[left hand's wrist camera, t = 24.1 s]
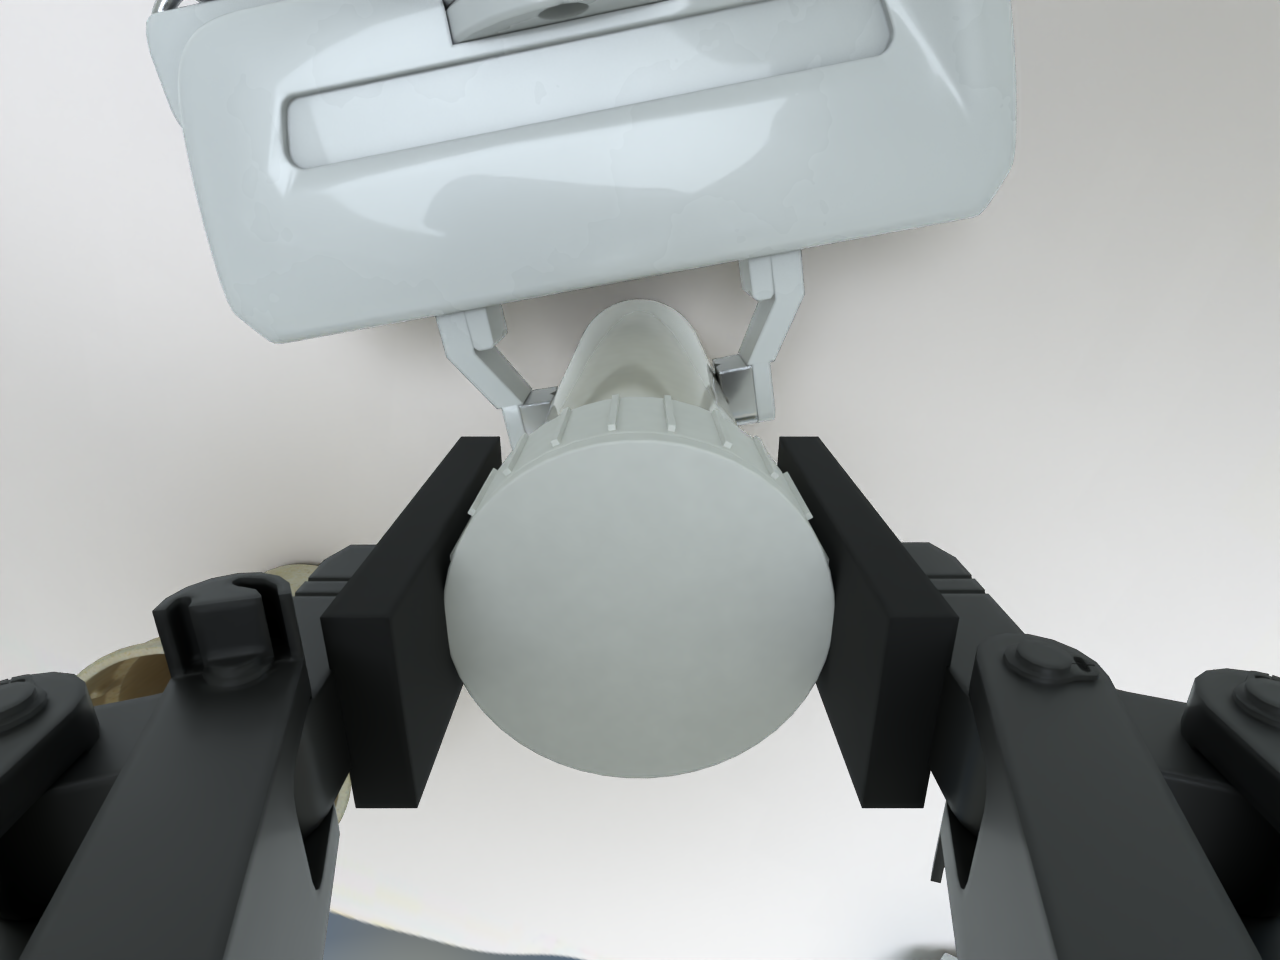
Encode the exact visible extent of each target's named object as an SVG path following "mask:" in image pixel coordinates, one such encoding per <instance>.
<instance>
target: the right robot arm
mask: <svg viewBox="0 0 1280 960" xmlns="http://www.w3.org/2000/svg"><path fill="white" fill-rule="evenodd" d="M182 1H183V0H156V1H155V4H154V6H153V10H152V15H151V16H150V17H149V18H148V20H147V22H146V35H147V42H148V47H149V51H150V54H151V57H152V60H153V63H154V65H155V68H156V71H157V73H158V76H159V79H160V82H161V84H162V87H163V90H164V92H165V95H166V98H167V101H168V103H169V106H170V108H171V111H172V113H173V115H174V117H175V118H176V120H177V121H178V123H179V125H180V126H181V127H182V130H183V135H184V140H185V145H186V150H187V155H188V160H189V165H190V170H191V175H192V179H193V184H194V188H195V193H196V197H197V201H198V205H199V209H200V213H201V217H202V221H203V225H204V228H205V232H206V236H207V239H208V243H209V246H210V250H211V253H212V257H213V260H214V263H215V267H216V270H217V273H218V276H219V279H220V283H221V286H222V288H223V291H224V294H225V296H226V299H227V301H228V303H229V305H230V307H231V309H232V311H233V312H234V313H235V315H236V316H238V317H239V318H240V319H241V320H242V321H244V322H245V323H246V324H247V325H249V326H250V327H251V328H252V329H254V330H255V331H256V332H257V333H259V334H260V335H262V336H263V337H264V338H266V339H267V340H268V341H270V342H272V343H276V344H283V343H289V342H295V341H301V340H306V339H311V338H317V337H322V336H328V335H333V334H339V333H344V332H350V331H355V330H361V329H366V328H372V327H377V326H383V325H388V324H394V323H399V322H404V321H410V320H415V319H421V318H426V317H432V316H435V317H436V321H437V324H438V328H439V331H440V335H441V339H442V342H443V346H444V350H445V353H446V357H447V358H448V359H449V360H450V361H451V362H452V363H453V364H454V366H455V367H456V368H457V369H458V370H459V371H460V372H461V373H462V374H463V375H464V376H465V377H466V378H467V379H468V380H469V381H470V382H471V383H472V384H473V385H474V386H475V387H476V388H477V389H478V390H479V391H480V392H481V393H482V394H483V395H484V396H485V397H486V398H487V399H488V400H489V401H490V402H491V403H492V404H493V405H494V406H495V407H496V408H497V409H502V412H503V416H504V420H505V424H506V428H507V432H508V436H509V440H510V443H511V447H512V451H513V450H514V449H515V447H516V445H517V443H518V441H519V439H520V437H521V436H522V435H523V434H524V433H527V434H528V435H530V434H531V433H533V432H534V431H535V430H537V429H538V428H539V427H541V425H542V423H543V420H544V418H545V416H546V414H547V412H548V409H549V407H550V405H551V403H552V401H553V399H554V396H555V394H556V392H557V390H558V386H556V387H550V388H543V389H537V390H532V388H531V387H530V386H529V385H528V384H527V382H526V381H525V380H524V379H523V378H522V377H521V375H520V374H519V373H518V372H517V371H516V370H515V369H514V367H513V366H512V365H511V364H510V363H509V362H508V361H507V359H506V358H505V357H504V356H503V355H502V354H501V352H500V351H499V350H498V349H497V348H496V347H495V345H496V344H497V343H498V342H499V341H500V340H501V339H502V338H503V337H504V336H505V335H506V333H507V332H508V331H507V327H506V323H505V318H504V314H503V310H502V305H501V304H503V303H508V302H514V301H519V300H525V299H530V298H536V297H541V296H547V295H552V294H558V293H563V292H569V291H574V290H580V289H585V288H590V287H596V286H601V285H607V284H612V283H618V282H623V281H629V280H634V279H640V278H645V277H651V276H656V275H662V274H667V273H673V272H678V271H683V270H689V269H694V268H700V267H705V266H711V265H716V264H722V263H727V262H733V261H739V268H740V276H741V283H742V289H743V290H744V291H745V292H746V293H747V294H749V295H750V296H751V297H752V298H754V299H755V300H757V301H759V302H758V304H757V307H756V309H755V312H754V314H753V317H752V319H751V322H750V324H749V327H748V329H747V332H746V334H745V337H744V340H743V342H742V345H741V347H740V350H739V352H738V353H739V354H737V355H732V356H727V357H722V358H717V359H712V361H713V368H714V374H715V376H716V378H717V381H718V383H719V385H720V387H721V389H722V392H723V394H724V396H725V398H726V400H727V403H728V405H729V407H730V409H731V412H732V414H733V416H734V418H735V420H736V423H737V425H738V426H739V425H746V424H752V423H757V422H764V421H770V420H774V419H775V404H774V395H773V386H772V377H771V368H770V362H772V361H775V359H776V356H777V354H778V352H779V350H780V348H781V345H782V343H783V341H784V339H785V337H786V334H787V332H788V330H789V328H790V325H791V323H792V321H793V319H794V317H795V314H796V312H797V310H798V308H799V306H800V303H801V301H802V299H803V297H804V295H805V291H804V279H803V267H802V255H801V249H804V248H809V247H815V246H820V245H826V244H831V243H837V242H842V241H848V240H853V239H859V238H864V237H869V236H875V235H880V234H886V233H891V232H897V231H902V230H908V229H913V228H919V227H924V226H930V225H935V224H941V223H946V222H951V221H957V220H962V219H967V218H973V217H975V216H977V215H979V214H981V213H982V212H983V211H984V210H985V208H986V207H987V206H988V204H989V203H990V202H991V200H992V199H993V197H994V196H995V194H996V192H997V191H998V189H999V188H1000V186H1001V184H1002V183H1003V181H1004V180H1005V178H1006V176H1007V175H1008V173H1009V172H1010V169H1011V167H1012V164H1013V160H1014V154H1015V146H1016V68H1015V47H1014V33H1013V20H1012V8H1011V0H196V1H198V2H199V3H198V4H194V5H189V6H184V7H180V8H177V7H178V6H179V4H180V3H181V2H182Z"/></svg>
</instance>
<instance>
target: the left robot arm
mask: <svg viewBox="0 0 1280 960" xmlns="http://www.w3.org/2000/svg"><path fill="white" fill-rule="evenodd" d="M501 465H502V460H501V446H500V437H461V438H460V439H459V440H458V441H457V443H456V444H455V445H454V447H453V448H452V449H451V450H450V452H449V453H448V454H447V455H446V457H445V458H444V459H443V461H442V462H441V463H440V464H439V466H438V467H437V468H436V470H435V471H434V472H433V473H432V475H431V476H430V477H429V478H428V480H427V481H426V482H425V484H424V485H423V486H422V487H421V489H420V490H419V491H418V493H417V494H416V495H415V496H414V498H413V499H412V500H411V501H410V503H409V504H408V505H407V507H406V508H405V509H404V510H403V512H402V513H401V514H400V516H399V517H398V518H397V519H396V521H395V522H394V523H393V524H392V526H391V527H390V528H389V530H388V531H387V532H386V533H385V535H384V536H383V537H382V539H381V540H380V541H379V542H378V544H377V545H350V546H348V547H346V548H344V549H343V550H341V551H339V552H337V553H336V554H334V555H332V556H330V557H329V558H327V559H325V560H324V561H323V562H322V563H321V564H320V565H319V566H318V567H317V569H316V570H315V571H314V572H313V573H312V574H311V575H310V576H309V577H308V581H305V582H304V583H303V584H302V585H301V586H300V587H299V589H298V590H297V591H296V592H295V596H292V592H291V587H290V583H289V582H288V581H286V580H285V579H283V578H282V577H280V576H278V575H273V574H267V573H262V572H258V573H237V574H231V575H226V576H221V577H216V578H211V579H209V580H206V581H203V582H200V583H197V584H194V585H191V586H188V587H186V588H184V589H182V590H180V591H179V592H177V593H175V594H173V595H171V596H169V597H168V598H166V599H165V600H164V601H162V602H161V603H160V604H159V605H158V606H157V607H156V608H155V609H154V610H153V611H152V613H153V616H154V619H155V623H156V626H157V630H158V633H159V637H160V640H161V644H162V647H163V651H164V654H165V658H166V661H167V665H168V668H169V672H170V675H171V679H170V681H169V683H168V684H167V686H166V688H165V690H164V692H163V693H159V694H155V695H150V696H145V697H140V698H135V699H129V700H124V701H119V702H114V703H108V704H103V705H98V706H93V704H92V701H91V698H90V695H89V692H88V689H87V686H86V683H85V681H83V680H82V679H80V678H79V677H77V676H76V675H75V674H68V673H59V672H48V673H40V674H32V675H30V674H27V675H21V676H17V677H12V679H11V680H8V679H5V680H2V681H0V960H323V954H324V946H325V939H326V932H327V924H328V917H329V910H330V902H331V895H332V887H333V880H334V873H335V865H336V858H337V851H338V843H339V836H340V832H339V825H338V818H337V813H336V808H335V803H334V801H335V799H336V797H337V795H338V793H339V791H340V790H341V788H342V786H343V784H344V782H345V780H346V778H347V776H348V774H349V775H350V780H351V785H352V791H353V796H354V801H355V806H356V808H417V807H418V805H419V802H420V799H421V797H422V794H423V791H424V788H425V786H426V783H427V780H428V778H429V775H430V772H431V770H432V767H433V764H434V761H435V759H436V756H437V753H438V751H439V748H440V745H441V743H442V740H443V737H444V735H445V732H446V729H447V726H448V724H449V721H450V718H451V716H452V713H453V710H454V708H455V705H456V702H457V699H458V697H459V694H460V691H461V689H462V686H463V682H462V680H461V679H460V677H459V674H458V672H457V670H456V667H455V665H454V663H453V660H452V658H451V655H450V648H449V641H448V632H447V624H446V615H445V605H444V587H445V582H446V577H447V572H448V568H449V565H450V562H451V561H450V554H451V552H452V550H453V548H454V547H455V545H456V543H457V541H458V539H459V538H460V536H461V534H462V532H463V530H464V528H465V527H466V525H467V523H468V521H469V519H470V518H471V515H469V514H468V511H469V510H470V508H471V506H472V504H473V502H474V501H475V499H476V497H477V495H478V494H479V492H480V490H481V488H482V487H483V485H484V483H485V481H486V480H487V478H488V476H489V474H490V473H491V471H492V469H493V468H495V469H496V470H498V469H499V468H500V466H501ZM777 466H778V467H779V469H780V470H781V472H782V474H783V473H785V472H788V474H789V475H790V477H791V479H792V481H793V482H794V484H795V486H796V488H797V490H798V491H799V493H800V495H801V497H802V498H803V500H804V502H805V504H806V506H807V507H808V509H809V511H810V513H811V514H812V516H813V518H811V519H809V520H808V521H809V523H810V525H811V526H812V528H813V530H814V532H815V534H816V536H817V538H818V539H819V541H820V543H821V545H822V547H823V549H824V551H825V552H826V554H827V556H828V558H829V568H830V571H831V577H832V582H833V588H834V594H835V606H834V617H833V625H832V634H831V642H830V648H829V651H828V655H827V658H826V661H825V663H824V666H823V668H822V670H821V672H820V675H819V677H818V679H817V681H816V685H817V688H818V690H819V693H820V696H821V699H822V701H823V704H824V707H825V709H826V712H827V715H828V717H829V720H830V723H831V726H832V728H833V731H834V734H835V736H836V739H837V742H838V744H839V747H840V750H841V753H842V755H843V758H844V761H845V763H846V766H847V769H848V771H849V774H850V777H851V780H852V782H853V785H854V788H855V790H856V793H857V796H858V798H859V801H860V804H861V807H862V808H924V803H925V797H926V792H927V787H928V781H929V776H930V771H931V772H932V774H933V776H934V778H935V779H936V781H937V783H938V785H939V787H940V789H941V791H942V793H943V795H944V797H945V799H946V803H945V808H944V813H943V818H942V823H941V828H940V833H939V838H938V843H937V848H936V853H935V857H934V862H933V868H932V875H931V881H934V882H938V883H941V879H942V874H943V869H944V867H945V871H946V878H947V886H948V893H949V900H950V908H951V915H952V922H953V930H954V937H955V945H956V952H957V959H958V960H1280V677H1277V676H1274V675H1272V677H1271V676H1269V674H1266V673H1262V672H1257V671H1244V670H1236V669H1228V668H1225V669H1216V670H1207V671H1205V672H1203V673H1202V674H1201V675H1199V676H1198V677H1196V678H1195V680H1194V683H1193V686H1192V689H1191V692H1190V695H1189V698H1188V701H1187V703H1184V702H1178V701H1173V700H1168V699H1163V698H1157V697H1152V696H1147V695H1141V694H1136V693H1131V692H1126V691H1122V690H1118V689H1115V687H1114V685H1113V683H1112V681H1111V679H1110V678H1109V676H1108V675H1107V674H1106V673H1105V671H1104V670H1103V669H1102V668H1101V667H1100V666H1099V665H1098V663H1097V662H1095V661H1094V660H1092V659H1091V658H1089V657H1088V656H1086V655H1084V654H1083V653H1081V652H1080V651H1078V650H1077V649H1074V648H1072V647H1069V646H1067V645H1065V644H1062V643H1060V642H1057V641H1055V640H1052V639H1048V638H1043V637H1039V636H1035V635H1030V634H1024V633H1023V631H1022V630H1021V629H1020V628H1019V627H1018V626H1017V625H1016V624H1015V623H1014V622H1013V620H1012V619H1011V618H1010V617H1009V616H1008V615H1007V614H1006V613H1005V612H1004V611H1003V609H1002V608H1001V607H1000V606H999V605H998V604H997V603H996V602H995V601H994V599H993V598H992V597H991V596H990V595H989V594H985V590H984V588H983V587H982V586H981V585H980V584H979V583H978V582H977V581H976V580H975V579H972V577H971V574H970V573H969V572H968V571H967V570H966V569H965V567H964V566H963V565H962V564H961V563H960V562H959V561H958V560H957V559H956V558H955V557H954V556H952V555H950V554H948V553H947V552H945V551H943V550H941V549H940V548H938V547H936V546H934V545H932V544H931V543H929V542H900V541H899V539H898V538H897V537H896V536H895V534H894V533H893V532H892V531H891V529H890V528H889V527H888V525H887V524H886V523H885V522H884V520H883V519H882V518H881V516H880V515H879V514H878V513H877V511H876V510H875V509H874V508H873V506H872V505H871V504H870V502H869V501H868V500H867V499H866V497H865V496H864V495H863V493H862V492H861V491H860V490H859V488H858V487H857V486H856V485H855V483H854V482H853V481H852V479H851V478H850V477H849V476H848V474H847V473H846V472H845V470H844V469H843V468H842V467H841V465H840V464H839V463H838V461H837V460H836V459H835V458H834V456H833V455H832V454H831V453H830V451H829V450H828V449H827V447H826V446H825V445H824V444H823V442H822V441H821V440H820V438H819V437H779V451H778V464H777Z"/></svg>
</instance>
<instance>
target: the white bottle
mask: <svg viewBox="0 0 1280 960" xmlns="http://www.w3.org/2000/svg"><path fill="white" fill-rule="evenodd" d="M615 394H619V398H623V397H656V398H663V399H664V395H670V396H671V399H672V400H677V401H680V402H684V403H688V404H691V405H695V406H698V407H701V408H703V409H705V410H708V411H710V412H713V410H714V409H716V410H718V411H720V413H721V416H722V417H723V418H724V419H726V420H728V421H730V422H731V423H733V424H735V425H736V426H738V425H737V423H736V420H735V418H734V416H733V414H732V412H731V409H730V407H729V405H728V403H727V400H726V398H725V396H724V394H723V392H722V389H721V387H720V385H719V383H718V381H717V378H716V376H715V374H714V372H713V369H712V367H711V365H710V363H709V361H708V358H707V356H706V354H705V352H704V350H703V347H702V345H701V343H700V341H699V339H698V336H697V334H696V332H695V330H694V329H693V327H692V326H691V324H690V323H689V322H688V321H687V320H686V319H685V317H684V316H682V315H681V314H680V313H679V312H678V311H676V310H675V309H673V308H672V307H670V306H668V305H665V304H663V303H660V302H657V301H653V300H648V299H632V300H626V301H622V302H619V303H616V304H614V305H612V306H610V307H608V308H606V309H605V310H603V311H602V312H601V313H599V314H598V315H597V316H596V317H595V318H594V319H593V320H592V321H591V323H590V324H589V325H588V326H587V328H586V330H585V331H584V333H583V335H582V337H581V340H580V342H579V344H578V346H577V348H576V351H575V353H574V355H573V357H572V359H571V361H570V364H569V366H568V368H567V370H566V372H565V375H564V377H563V379H562V381H561V383H560V385H559V388H558V390H557V392H556V394H555V396H554V399H553V401H552V403H551V405H550V407H549V409H548V412H547V414H546V416H545V418H544V420H543V423H542V425H543V424H545V423H547V422H549V421H550V420H552V419H554V418H556V417H558V416H559V415H561V413H562V410H563V409H565V408H567V407H569V409H570V411H571V410H573V409H576V408H578V407H581V406H583V405H587V404H591V403H594V402H598V401H602V400H607V399H612V395H615ZM542 425H541V426H542Z"/></svg>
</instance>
